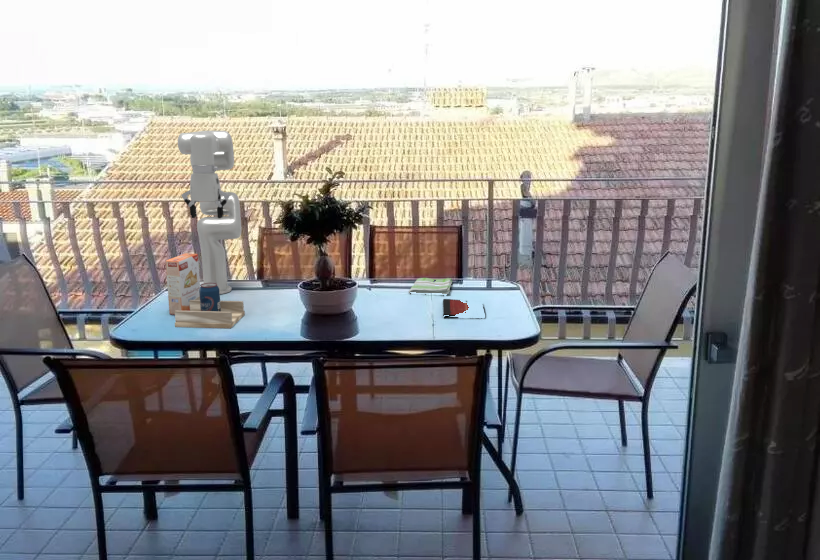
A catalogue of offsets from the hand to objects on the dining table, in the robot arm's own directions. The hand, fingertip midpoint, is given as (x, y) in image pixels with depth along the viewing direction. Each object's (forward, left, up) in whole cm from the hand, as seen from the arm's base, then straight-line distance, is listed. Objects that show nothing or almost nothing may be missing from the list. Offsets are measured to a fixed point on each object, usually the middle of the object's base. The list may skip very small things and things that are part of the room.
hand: (207, 217), depth 236 cm
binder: (-11, +94, -37) cm, 102 cm away
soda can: (+9, +2, -35) cm, 36 cm away
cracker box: (-3, -12, -36) cm, 39 cm away
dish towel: (-42, +81, -37) cm, 98 cm away
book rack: (+9, +2, -36) cm, 37 cm away
